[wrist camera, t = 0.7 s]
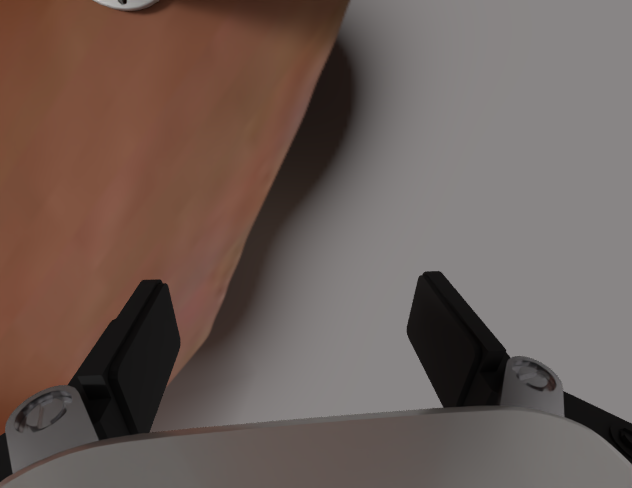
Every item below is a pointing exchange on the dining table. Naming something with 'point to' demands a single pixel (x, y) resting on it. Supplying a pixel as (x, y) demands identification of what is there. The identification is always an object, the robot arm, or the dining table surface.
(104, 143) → the dining table surface
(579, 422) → the robot arm
